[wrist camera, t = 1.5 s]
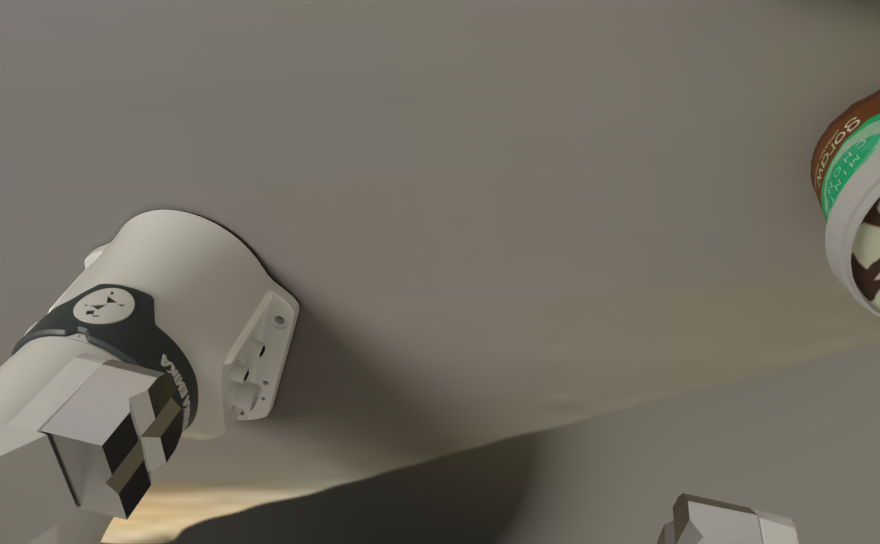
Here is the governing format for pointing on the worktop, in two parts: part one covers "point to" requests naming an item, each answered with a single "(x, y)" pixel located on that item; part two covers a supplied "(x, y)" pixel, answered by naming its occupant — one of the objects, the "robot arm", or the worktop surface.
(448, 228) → the worktop surface
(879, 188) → the food container
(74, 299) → the robot arm
